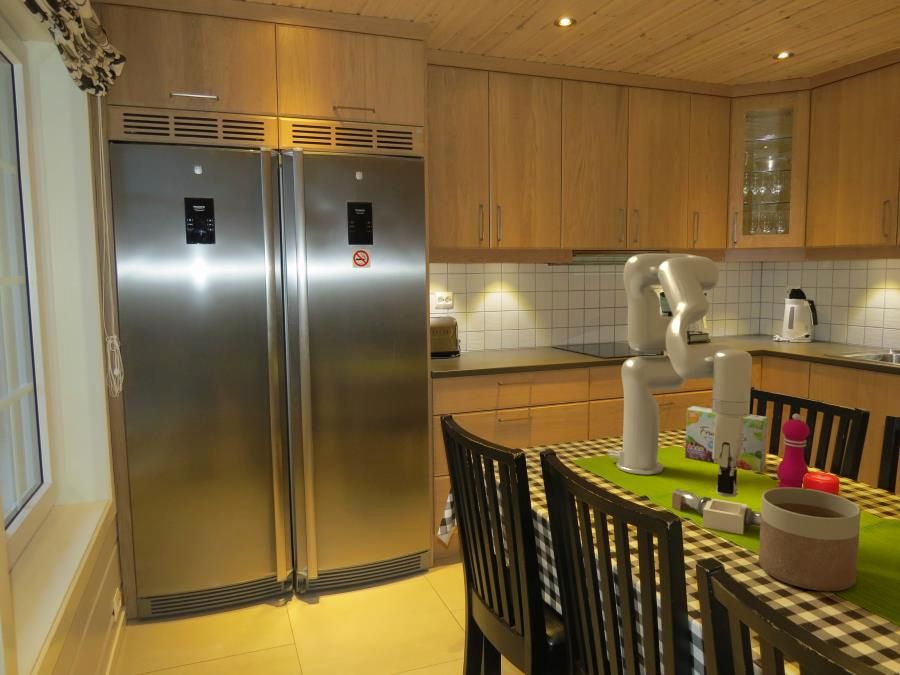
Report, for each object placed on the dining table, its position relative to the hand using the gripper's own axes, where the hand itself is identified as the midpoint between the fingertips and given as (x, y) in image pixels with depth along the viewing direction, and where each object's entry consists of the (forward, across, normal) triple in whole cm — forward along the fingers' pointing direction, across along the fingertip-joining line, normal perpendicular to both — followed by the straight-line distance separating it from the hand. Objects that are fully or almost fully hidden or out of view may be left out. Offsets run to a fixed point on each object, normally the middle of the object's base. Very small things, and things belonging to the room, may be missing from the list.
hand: (726, 488), depth 143 cm
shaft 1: (+8, -5, -8) cm, 12 cm away
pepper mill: (+8, -31, +12) cm, 34 cm away
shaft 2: (+8, 0, +8) cm, 12 cm away
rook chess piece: (+2, 0, 0) cm, 2 cm away
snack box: (+8, -48, -6) cm, 49 cm away
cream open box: (+8, 0, 0) cm, 8 cm away
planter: (+9, +17, +16) cm, 25 cm away
